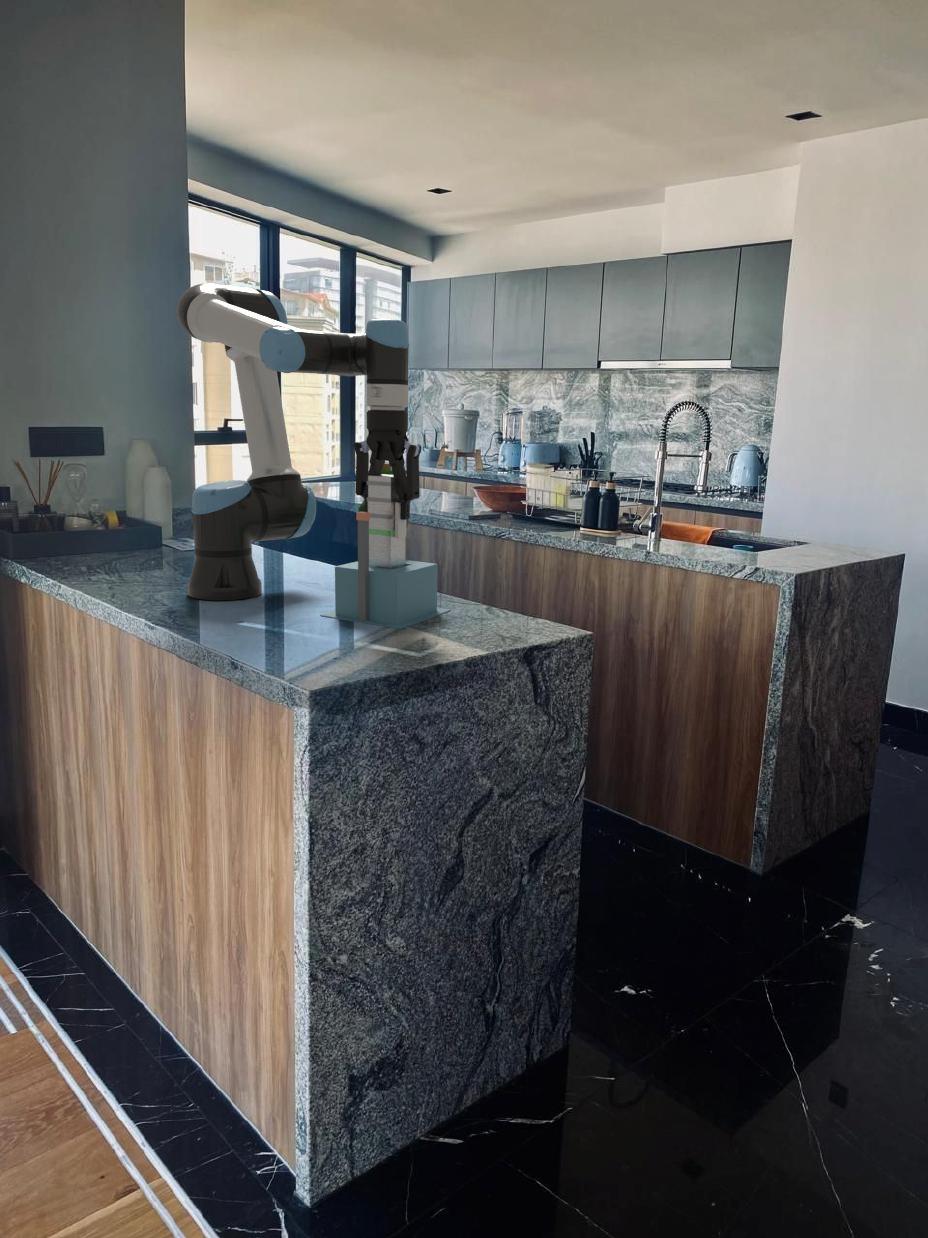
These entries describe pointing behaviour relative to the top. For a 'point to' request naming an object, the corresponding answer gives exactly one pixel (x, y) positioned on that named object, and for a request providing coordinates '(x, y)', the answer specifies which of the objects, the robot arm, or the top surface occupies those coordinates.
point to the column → (384, 524)
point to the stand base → (384, 589)
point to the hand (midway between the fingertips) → (387, 535)
